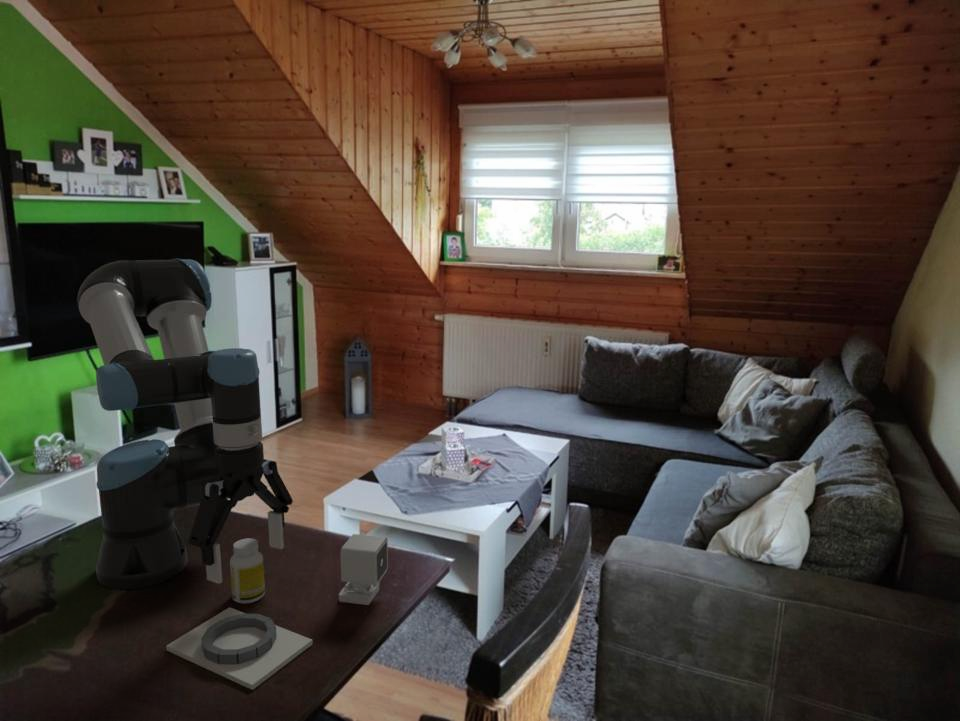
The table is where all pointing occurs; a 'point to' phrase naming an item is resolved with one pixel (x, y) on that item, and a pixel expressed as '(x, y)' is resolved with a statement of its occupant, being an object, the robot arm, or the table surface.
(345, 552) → the security camera
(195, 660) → the socket board
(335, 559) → the table surface
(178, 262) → the robot arm
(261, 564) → the supplement bottle
